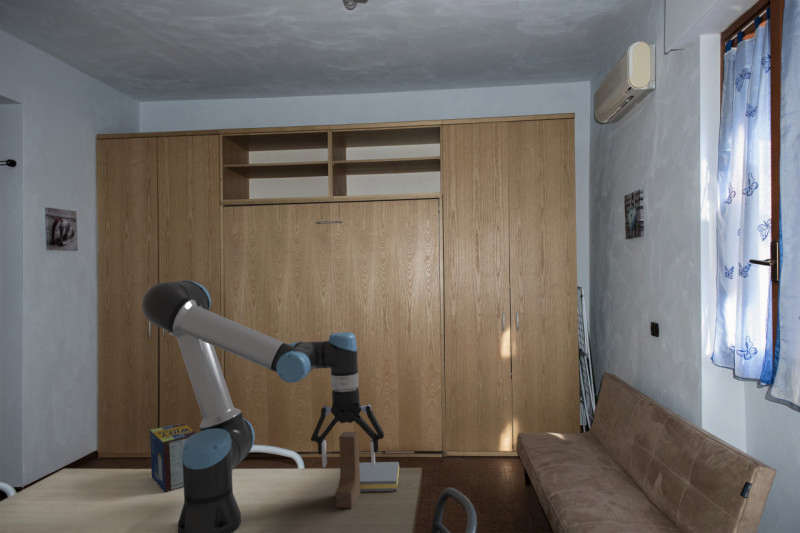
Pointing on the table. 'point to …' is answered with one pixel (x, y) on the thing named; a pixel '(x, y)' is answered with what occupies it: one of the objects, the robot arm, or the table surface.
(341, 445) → the wooden block
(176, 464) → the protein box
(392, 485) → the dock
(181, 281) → the robot arm
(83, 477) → the table surface
